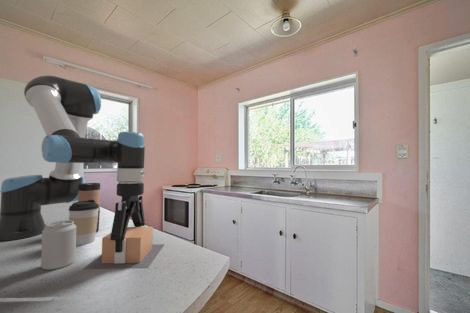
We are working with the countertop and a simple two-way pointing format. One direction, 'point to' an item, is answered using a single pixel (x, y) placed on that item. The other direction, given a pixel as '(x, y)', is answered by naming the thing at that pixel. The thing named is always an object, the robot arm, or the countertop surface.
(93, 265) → the mat
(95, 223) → the coffee cup
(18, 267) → the countertop surface
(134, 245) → the orange block
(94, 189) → the travel mug
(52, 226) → the white soda can
